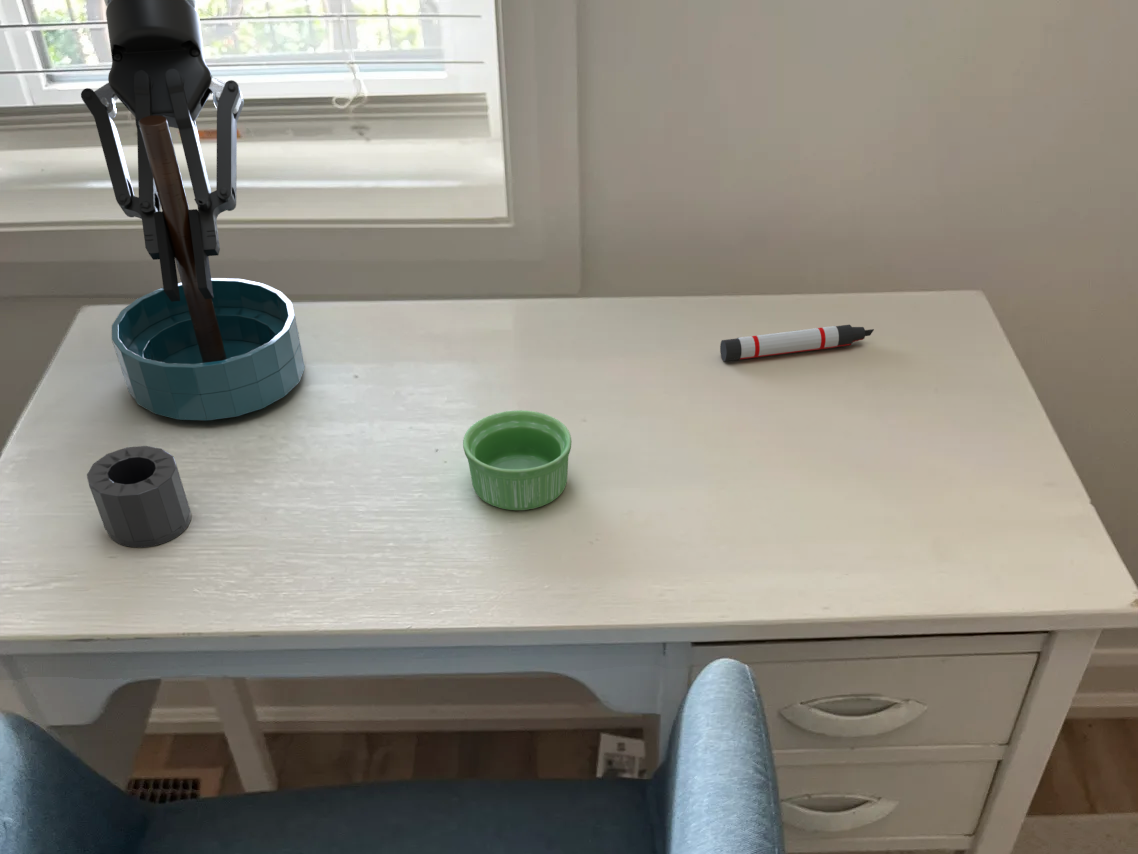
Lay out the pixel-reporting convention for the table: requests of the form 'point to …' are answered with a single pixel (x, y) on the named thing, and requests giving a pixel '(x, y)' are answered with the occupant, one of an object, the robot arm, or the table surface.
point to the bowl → (173, 361)
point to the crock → (139, 496)
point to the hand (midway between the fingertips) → (189, 294)
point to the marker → (791, 342)
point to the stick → (180, 233)
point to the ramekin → (518, 458)
